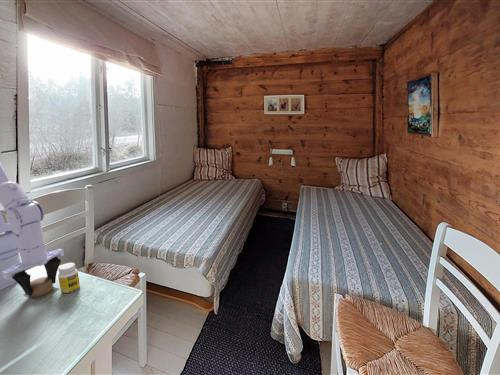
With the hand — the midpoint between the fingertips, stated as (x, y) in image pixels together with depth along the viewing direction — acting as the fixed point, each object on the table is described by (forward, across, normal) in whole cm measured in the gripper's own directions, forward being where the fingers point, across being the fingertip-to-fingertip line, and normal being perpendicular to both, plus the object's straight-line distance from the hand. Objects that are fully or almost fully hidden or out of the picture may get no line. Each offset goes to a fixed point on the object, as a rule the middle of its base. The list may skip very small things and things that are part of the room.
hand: (41, 288), depth 78 cm
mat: (+2, 0, 0) cm, 2 cm away
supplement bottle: (+2, +4, -7) cm, 8 cm away
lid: (+1, 0, 0) cm, 1 cm away
